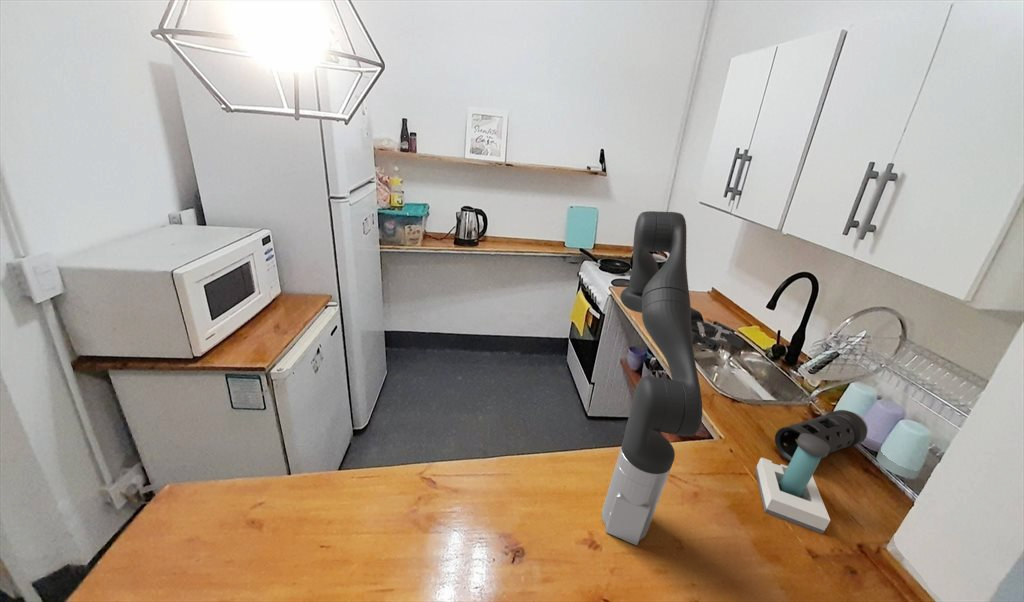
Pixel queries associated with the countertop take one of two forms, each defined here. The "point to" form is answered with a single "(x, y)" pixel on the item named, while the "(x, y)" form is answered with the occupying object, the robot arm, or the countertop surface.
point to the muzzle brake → (824, 432)
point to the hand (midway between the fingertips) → (730, 346)
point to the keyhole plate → (790, 498)
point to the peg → (803, 464)
